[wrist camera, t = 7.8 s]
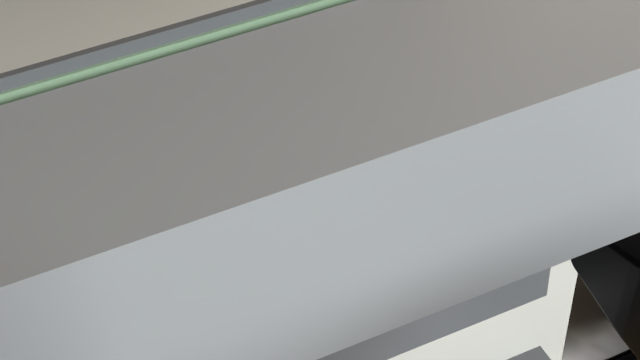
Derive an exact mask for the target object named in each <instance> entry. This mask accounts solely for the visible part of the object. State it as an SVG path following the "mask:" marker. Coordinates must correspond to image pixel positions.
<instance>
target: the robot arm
mask: <svg viewBox="0 0 640 360" xmlns="http://www.w3.org/2000/svg"><path fill="white" fill-rule="evenodd" d="M571 262H572V265H573V267H574V268H575V270H576V271H577V273H578V274H579V276H580V277H581V279H582V280H583V282H584V283H585V285H586V286H587V288H588V289H589V291H590V292H591V294H592V295H593V297H594V298H595V300H596V301H597V303H598V304H599V306H600V307H601V309H602V310H603V312H604V313H605V315H606V316H607V318H608V319H609V321H610V322H611V324H612V325H613V327H614V328H615V330H616V331H617V333H618V334H619V335H620V337H621V338H622V339H623V341H624V342H625V343H626V345H627V346H628V347H629V348H630V350H631V351H632V353H630V354H627V355H625V356H623V357H620V358H618V359H616V360H640V232H639V233H636V234H634V235H631V236H629V237H626V238H624V239H621V240H619V241H616V242H614V243H611V244H609V245H606V246H603V247H601V248H598V249H596V250H593V251H591V252H588V253H586V254H583V255H581V256H578V257H576V258H573V259H571Z"/></svg>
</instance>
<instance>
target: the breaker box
mask: <svg viewBox="0 0 640 360" xmlns="http://www.w3.org/2000/svg"><path fill="white" fill-rule="evenodd" d="M352 1H356V0H0V105H4V104H7V103H10V102H14V101H17V100H20V99H24V98H27V97H31V96H34V95H37V94H41V93H44V92H48V91H51V90H54V89H58V88H61V87H64V86H68V85H71V84H75V83H78V82H81V81H85V80H88V79H92V78H95V77H98V76H102V75H105V74H109V73H112V72H115V71H119V70H122V69H125V68H129V67H132V66H136V65H139V64H142V63H146V62H149V61H153V60H156V59H159V58H163V57H166V56H169V55H173V54H176V53H180V52H183V51H186V50H190V49H193V48H197V47H200V46H203V45H207V44H210V43H213V42H217V41H220V40H224V39H227V38H230V37H234V36H237V35H241V34H244V33H247V32H251V31H254V30H257V29H261V28H264V27H268V26H271V25H274V24H278V23H281V22H285V21H288V20H291V19H295V18H298V17H301V16H305V15H308V14H312V13H315V12H318V11H322V10H325V9H329V8H332V7H335V6H339V5H342V4H345V3H349V2H352ZM577 274H578V273H577V271H576V270H575V268H574V267H573V265H572V262H571V260H568V261H565V262H563V263H560V264H558V265H555V266H553V267H550V268H548V269H545V270H543V271H540V272H538V273H535V274H533V275H530V276H527V277H525V278H522V279H520V280H517V281H515V282H512V283H510V284H507V285H505V286H502V287H500V288H497V289H495V290H492V291H489V292H487V293H484V294H482V295H479V296H477V297H474V298H472V299H469V300H467V301H464V302H462V303H459V304H457V305H454V306H451V307H449V308H446V309H444V310H441V311H439V312H436V313H434V314H431V315H429V316H426V317H424V318H421V319H419V320H416V321H413V322H411V323H408V324H406V325H403V326H401V327H398V328H396V329H393V330H391V331H388V332H386V333H383V334H381V335H378V336H375V337H373V338H370V339H368V340H365V341H363V342H360V343H358V344H355V345H353V346H350V347H348V348H345V349H343V350H340V351H337V352H335V353H332V354H330V355H327V356H325V357H322V358H320V359H317V360H561V359H562V353H563V348H564V343H565V338H566V332H567V327H568V322H569V317H570V311H571V306H572V301H573V295H574V290H575V285H576V280H577Z"/></svg>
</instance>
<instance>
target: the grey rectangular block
mask: <svg viewBox="0 0 640 360" xmlns="http://www.w3.org/2000/svg"><path fill="white" fill-rule="evenodd" d="M639 232H640V0H356V1H352V2H349V3H345V4H342V5H339V6H335V7H332V8H329V9H325V10H322V11H318V12H315V13H312V14H308V15H305V16H301V17H298V18H295V19H291V20H288V21H285V22H281V23H278V24H274V25H271V26H268V27H264V28H261V29H257V30H254V31H251V32H247V33H244V34H241V35H237V36H234V37H230V38H227V39H224V40H220V41H217V42H213V43H210V44H207V45H203V46H200V47H197V48H193V49H190V50H186V51H183V52H180V53H176V54H173V55H169V56H166V57H163V58H159V59H156V60H153V61H149V62H146V63H142V64H139V65H136V66H132V67H129V68H125V69H122V70H119V71H115V72H112V73H109V74H105V75H102V76H98V77H95V78H92V79H88V80H85V81H81V82H78V83H75V84H71V85H68V86H64V87H61V88H58V89H54V90H51V91H48V92H44V93H41V94H37V95H34V96H31V97H27V98H24V99H20V100H17V101H14V102H10V103H7V104H4V105H0V360H317V359H320V358H322V357H325V356H327V355H330V354H332V353H335V352H337V351H340V350H343V349H345V348H348V347H350V346H353V345H355V344H358V343H360V342H363V341H365V340H368V339H370V338H373V337H375V336H378V335H381V334H383V333H386V332H388V331H391V330H393V329H396V328H398V327H401V326H403V325H406V324H408V323H411V322H413V321H416V320H419V319H421V318H424V317H426V316H429V315H431V314H434V313H436V312H439V311H441V310H444V309H446V308H449V307H451V306H454V305H457V304H459V303H462V302H464V301H467V300H469V299H472V298H474V297H477V296H479V295H482V294H484V293H487V292H489V291H492V290H495V289H497V288H500V287H502V286H505V285H507V284H510V283H512V282H515V281H517V280H520V279H522V278H525V277H527V276H530V275H533V274H535V273H538V272H540V271H543V270H545V269H548V268H550V267H553V266H555V265H558V264H560V263H563V262H565V261H568V260H571V259H573V258H576V257H578V256H581V255H583V254H586V253H588V252H591V251H593V250H596V249H598V248H601V247H603V246H606V245H609V244H611V243H614V242H616V241H619V240H621V239H624V238H626V237H629V236H631V235H634V234H636V233H639Z"/></svg>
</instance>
